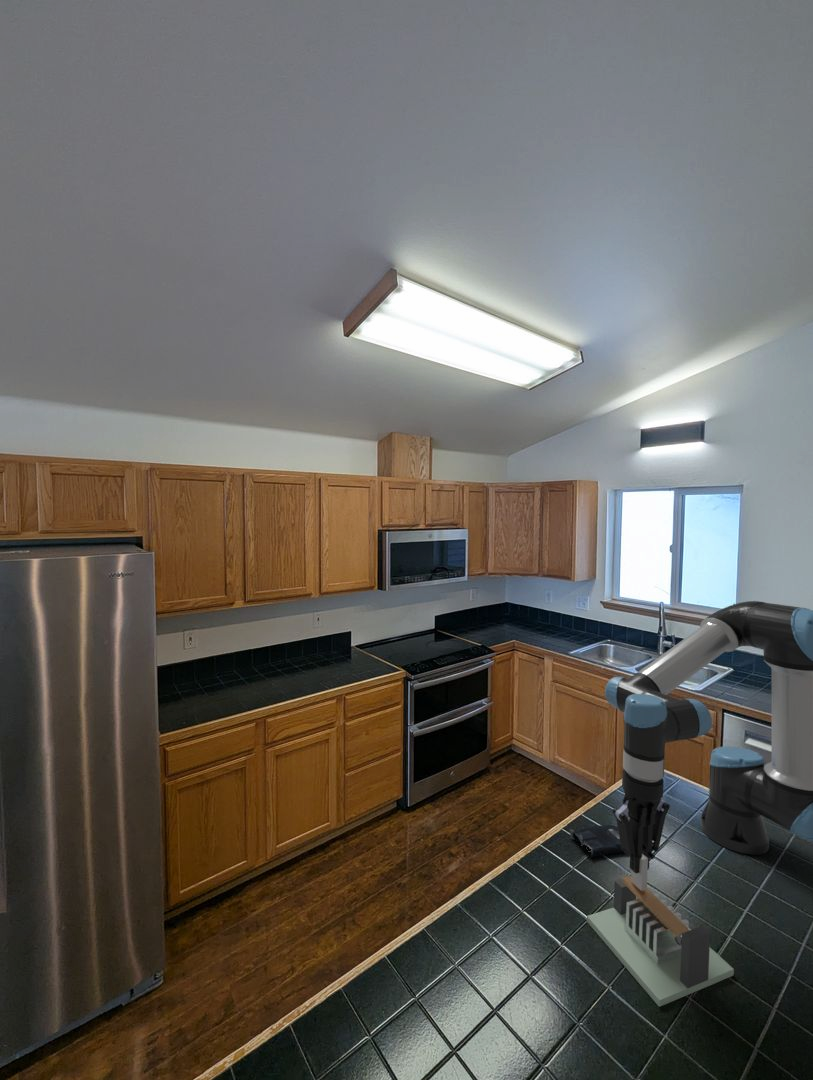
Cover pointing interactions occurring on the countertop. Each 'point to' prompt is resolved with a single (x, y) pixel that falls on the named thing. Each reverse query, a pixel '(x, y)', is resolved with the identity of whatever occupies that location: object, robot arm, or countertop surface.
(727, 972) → the board
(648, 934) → the heatsink
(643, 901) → the strap
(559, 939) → the countertop surface
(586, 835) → the electronic device
